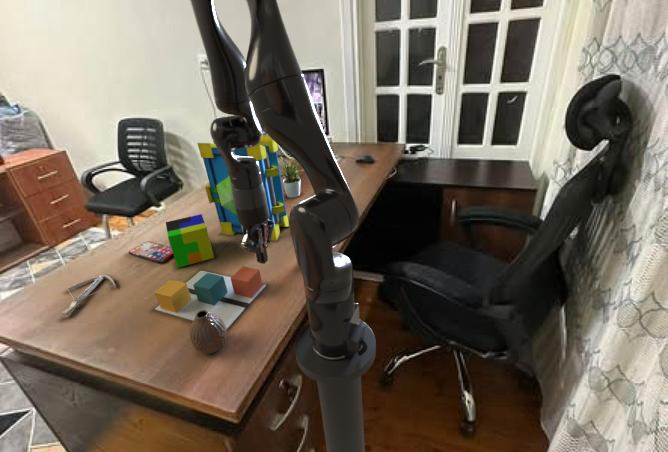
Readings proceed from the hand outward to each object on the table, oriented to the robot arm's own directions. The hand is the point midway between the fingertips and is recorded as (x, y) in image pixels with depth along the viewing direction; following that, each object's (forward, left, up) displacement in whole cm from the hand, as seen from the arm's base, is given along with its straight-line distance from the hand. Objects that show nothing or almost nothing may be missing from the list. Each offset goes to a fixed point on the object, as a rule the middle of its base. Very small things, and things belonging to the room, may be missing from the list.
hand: (263, 261), depth 91 cm
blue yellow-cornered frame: (+16, -19, -4) cm, 25 cm away
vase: (-3, +25, -4) cm, 26 cm away
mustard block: (+14, +18, -3) cm, 23 cm away
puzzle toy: (+26, -1, -4) cm, 26 cm away
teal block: (+7, +13, -3) cm, 15 cm away
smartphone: (+39, +2, -4) cm, 39 cm away
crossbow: (+40, +23, -4) cm, 46 cm away
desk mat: (+7, +13, -4) cm, 15 cm away
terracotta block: (0, +8, -3) cm, 8 cm away
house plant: (+19, -47, -4) cm, 51 cm away
